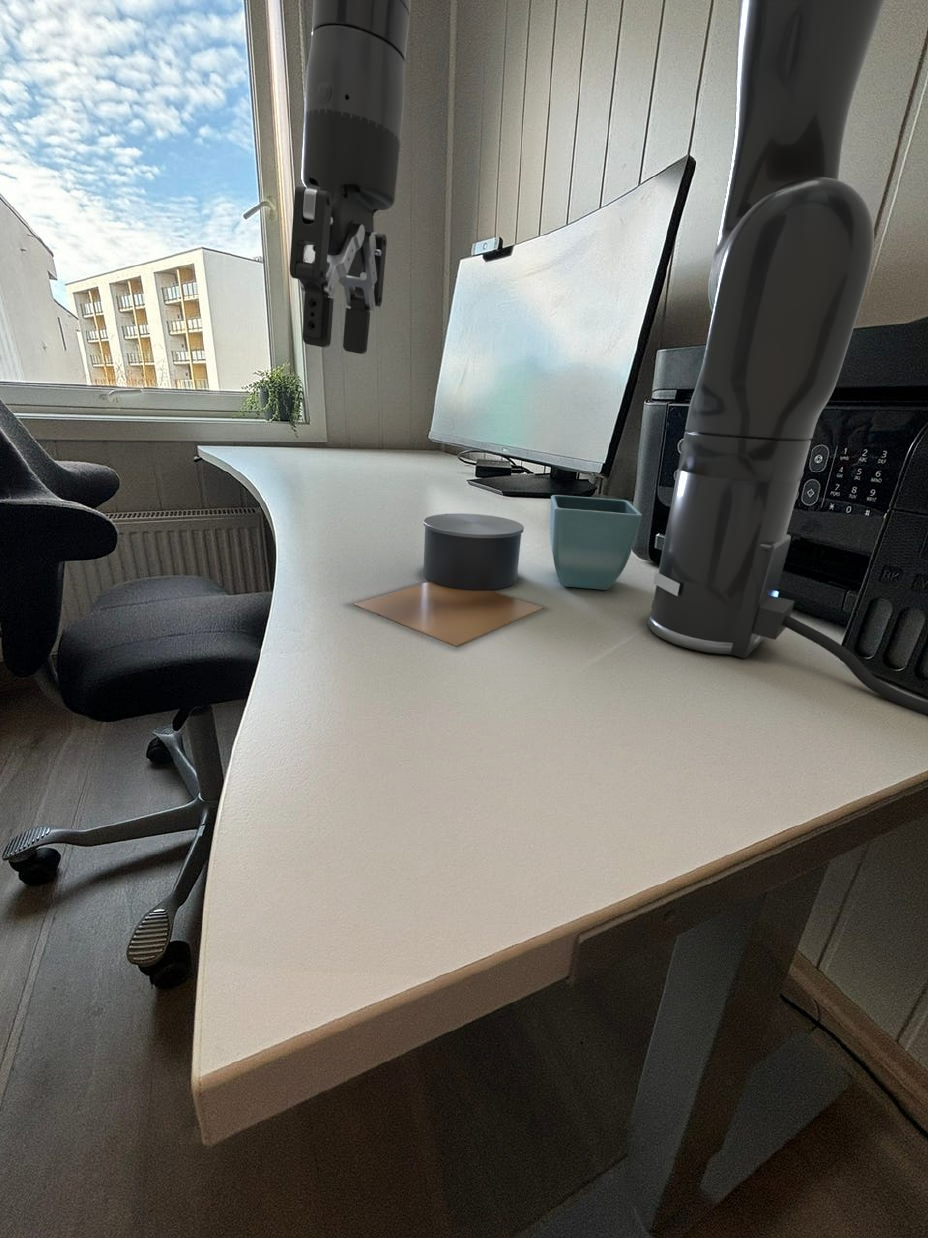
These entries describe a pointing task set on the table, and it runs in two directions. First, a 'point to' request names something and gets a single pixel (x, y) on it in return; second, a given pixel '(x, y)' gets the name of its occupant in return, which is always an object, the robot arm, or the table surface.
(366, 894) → the table surface
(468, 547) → the round metal tin
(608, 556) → the flower pot
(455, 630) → the desk mat
